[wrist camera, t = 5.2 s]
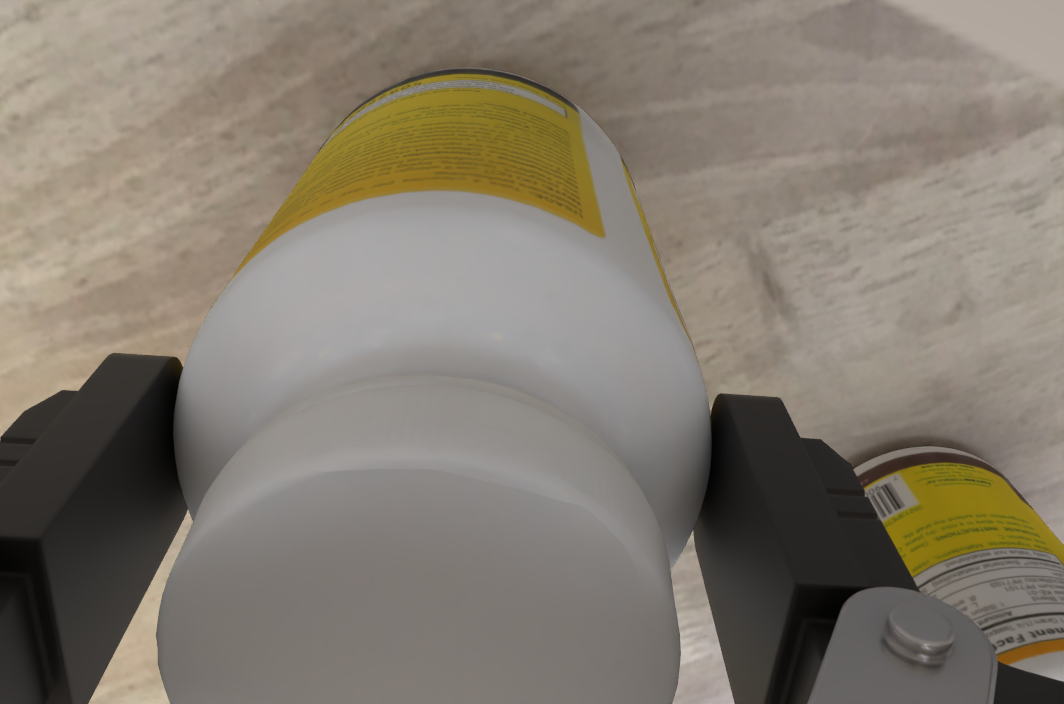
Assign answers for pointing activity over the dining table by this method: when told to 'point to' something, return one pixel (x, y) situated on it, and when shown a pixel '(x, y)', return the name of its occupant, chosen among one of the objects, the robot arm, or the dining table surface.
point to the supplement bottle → (975, 549)
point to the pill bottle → (440, 424)
